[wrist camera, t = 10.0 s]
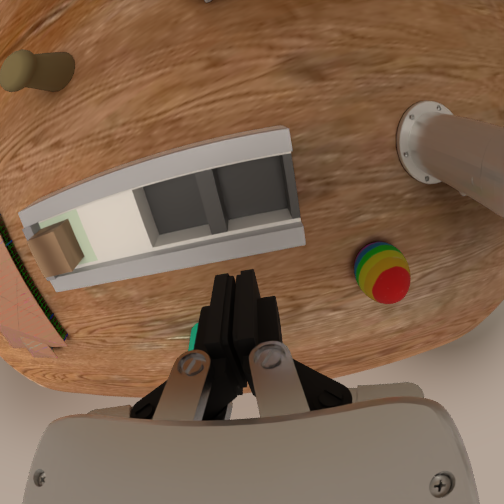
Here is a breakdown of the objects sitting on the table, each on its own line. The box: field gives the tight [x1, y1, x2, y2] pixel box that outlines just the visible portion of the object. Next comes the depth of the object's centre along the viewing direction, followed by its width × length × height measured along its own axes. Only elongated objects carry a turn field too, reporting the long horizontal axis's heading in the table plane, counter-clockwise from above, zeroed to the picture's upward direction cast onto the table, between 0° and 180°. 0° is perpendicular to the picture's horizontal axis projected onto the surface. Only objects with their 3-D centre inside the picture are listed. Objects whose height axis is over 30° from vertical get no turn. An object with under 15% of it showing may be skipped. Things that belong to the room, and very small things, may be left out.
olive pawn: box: [0, 50, 75, 92], centre depth 21 cm, size 6×6×11 cm
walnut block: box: [27, 219, 84, 278], centre depth 32 cm, size 6×6×4 cm
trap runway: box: [18, 125, 306, 292], centre depth 34 cm, size 38×14×6 cm, turn 101°
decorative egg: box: [354, 242, 410, 304], centre depth 38 cm, size 8×8×10 cm
